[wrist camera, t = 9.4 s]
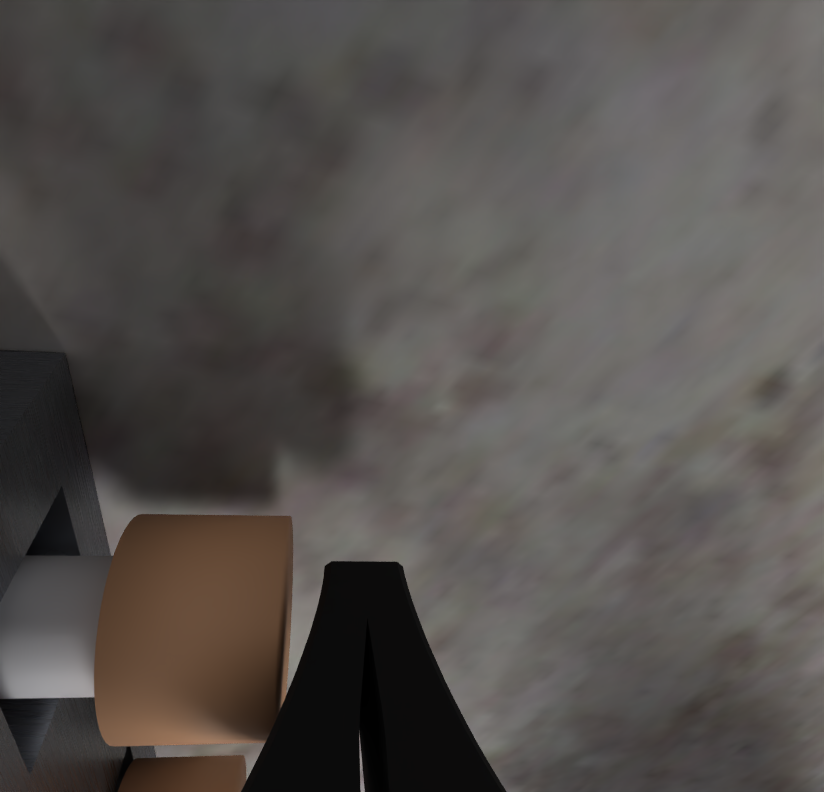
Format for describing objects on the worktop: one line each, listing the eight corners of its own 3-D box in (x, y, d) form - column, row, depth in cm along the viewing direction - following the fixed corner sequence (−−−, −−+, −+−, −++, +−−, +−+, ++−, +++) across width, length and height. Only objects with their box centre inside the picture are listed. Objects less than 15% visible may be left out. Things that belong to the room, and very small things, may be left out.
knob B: (292, 473, 12) (273, 650, 9) (293, 606, 14) (278, 786, 11) (-213, 463, 11) (-421, 657, 8) (-133, 606, 13) (-277, 804, 10)
